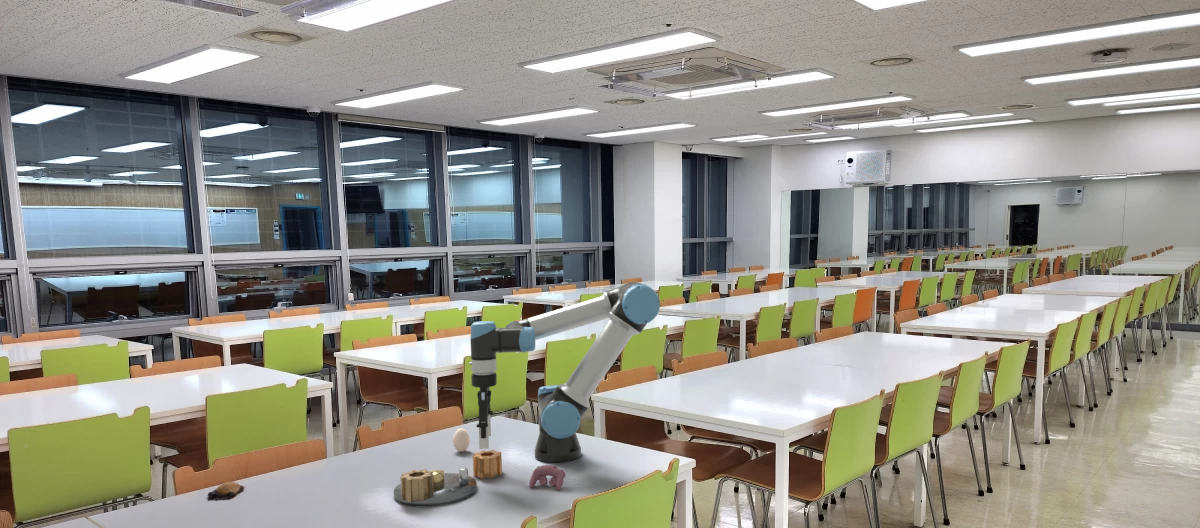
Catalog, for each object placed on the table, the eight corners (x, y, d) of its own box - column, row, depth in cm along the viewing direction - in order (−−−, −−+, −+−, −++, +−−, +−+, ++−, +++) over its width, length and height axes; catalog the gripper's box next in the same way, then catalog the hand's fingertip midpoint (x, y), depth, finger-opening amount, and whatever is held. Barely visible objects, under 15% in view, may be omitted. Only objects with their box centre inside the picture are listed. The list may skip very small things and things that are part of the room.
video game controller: (564, 492, 208) (568, 467, 211) (559, 490, 204) (562, 464, 207) (533, 489, 211) (536, 464, 214) (527, 487, 207) (530, 462, 210)
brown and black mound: (219, 490, 216) (218, 478, 215) (248, 488, 216) (247, 476, 216) (202, 503, 205) (201, 490, 205) (233, 501, 206) (232, 488, 206)
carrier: (479, 475, 220) (478, 451, 219) (473, 503, 197) (472, 476, 197) (401, 480, 217) (400, 455, 217) (386, 509, 195) (385, 481, 194)
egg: (462, 448, 249) (461, 425, 249) (473, 450, 246) (472, 427, 246) (450, 452, 245) (449, 429, 244) (461, 455, 242) (460, 431, 241)
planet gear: (502, 468, 226) (501, 449, 226) (501, 477, 218) (500, 457, 217) (474, 470, 225) (474, 451, 225) (472, 479, 217) (471, 459, 217)
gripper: (474, 365, 232) (475, 431, 233) (468, 381, 208) (469, 454, 208) (498, 365, 233) (499, 430, 234) (494, 380, 208) (496, 453, 209)
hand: (485, 442), depth 221 cm, fingers open, 13 cm apart
